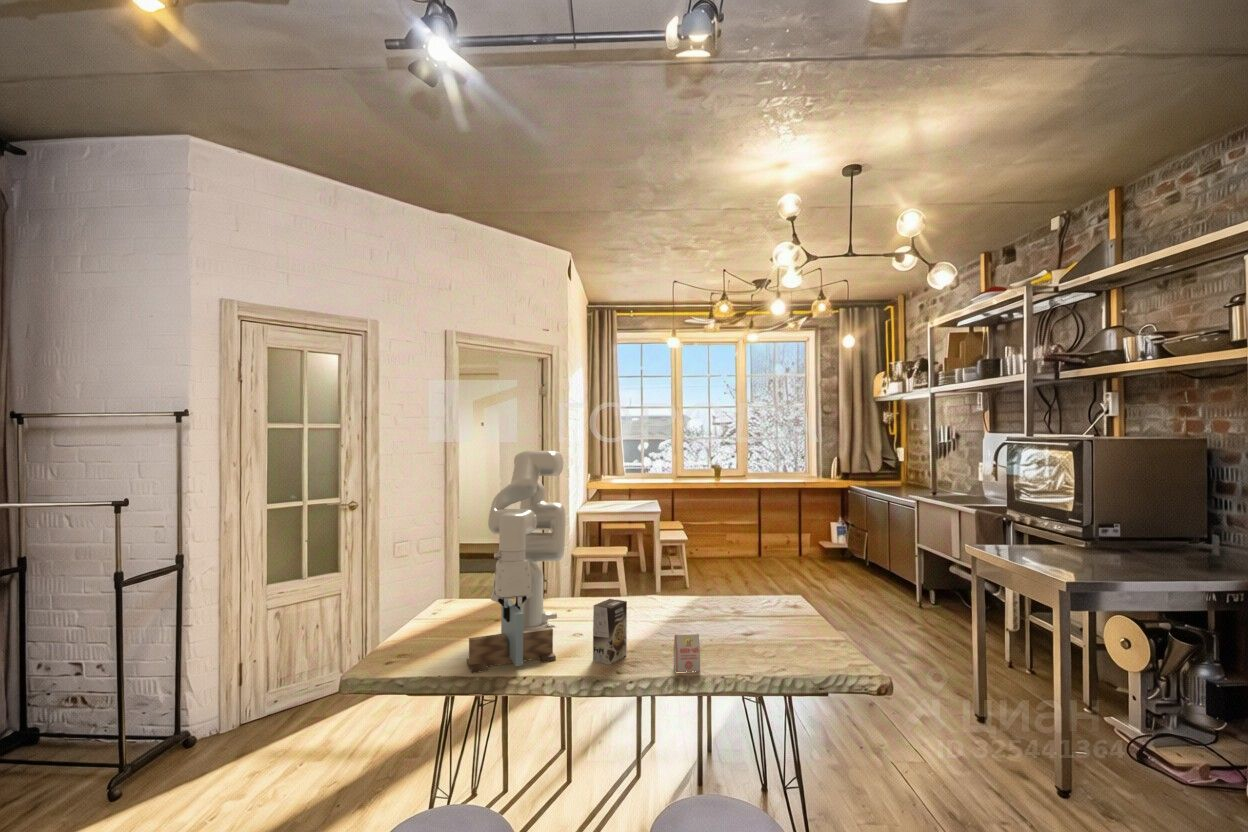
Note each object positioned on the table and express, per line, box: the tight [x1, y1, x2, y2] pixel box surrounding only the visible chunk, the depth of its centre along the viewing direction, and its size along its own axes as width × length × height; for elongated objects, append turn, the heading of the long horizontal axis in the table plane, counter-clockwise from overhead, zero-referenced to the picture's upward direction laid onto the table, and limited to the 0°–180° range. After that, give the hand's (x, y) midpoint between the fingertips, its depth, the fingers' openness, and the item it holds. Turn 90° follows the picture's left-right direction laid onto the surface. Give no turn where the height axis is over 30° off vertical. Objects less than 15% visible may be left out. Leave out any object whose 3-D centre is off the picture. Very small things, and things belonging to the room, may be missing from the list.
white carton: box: [673, 633, 701, 673], centre depth 170 cm, size 4×7×10 cm, turn 95°
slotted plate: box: [500, 598, 524, 667], centre depth 176 cm, size 18×2×14 cm, turn 24°
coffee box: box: [592, 598, 628, 666], centre depth 179 cm, size 9×6×16 cm
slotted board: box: [466, 626, 557, 674], centre depth 176 cm, size 24×8×8 cm, turn 114°
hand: (511, 619), depth 176 cm, fingers closed on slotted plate, 2 cm apart
